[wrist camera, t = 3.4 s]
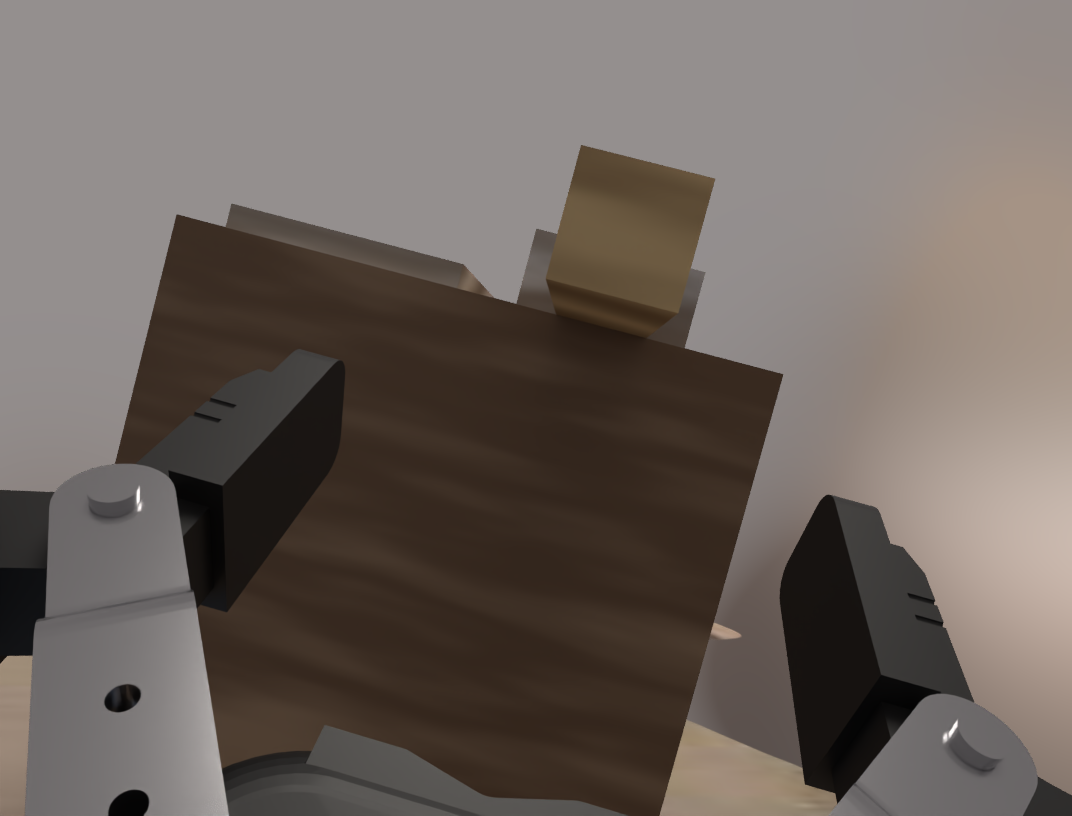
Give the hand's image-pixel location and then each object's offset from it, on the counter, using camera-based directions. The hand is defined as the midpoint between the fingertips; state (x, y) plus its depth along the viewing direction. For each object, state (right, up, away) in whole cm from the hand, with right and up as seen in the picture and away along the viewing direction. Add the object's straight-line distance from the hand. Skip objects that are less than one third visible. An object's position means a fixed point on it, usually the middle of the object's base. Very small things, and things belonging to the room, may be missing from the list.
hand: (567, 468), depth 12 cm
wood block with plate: (+2, +4, +18) cm, 18 cm away
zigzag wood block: (-11, -25, +24) cm, 37 cm away
